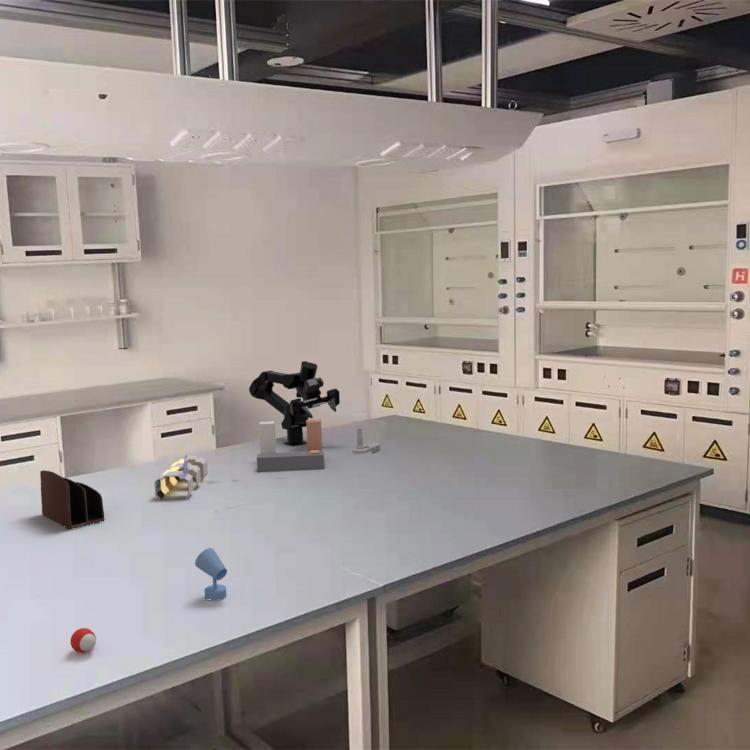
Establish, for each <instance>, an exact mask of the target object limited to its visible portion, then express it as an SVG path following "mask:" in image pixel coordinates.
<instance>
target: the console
mask: <svg viewBox="0 0 750 750" xmlns="http://www.w3.org/2000/svg"><path fill="white" fill-rule="evenodd" d="M256 456H257V457H256V467H257V469H256V470H257V473H266V472H267V473H269V472H287V471H289V472H290V471H305V470H307V471H309V470H310V471H311V470H323V469H324V470H325V452H324V450H322V451H319V450H313V451H308V450H307V451H290V452H288V451H287V452H276V453H265V454H261V453H258V454H257V455H256Z"/></svg>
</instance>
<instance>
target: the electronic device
mask: <svg viewBox="0 0 750 750" xmlns="http://www.w3.org/2000/svg"><path fill="white" fill-rule="evenodd" d="M356 430H357V431H356V436H357V438H356V444H357V445H356V446H355V447H354V448H353V449H352V453H353V454H355V455H361V454H362V455H363V454H368V453H369V452H370V451H371V454H373V453H375V452H378V451H380V449H381V448H380V447H381V446H380V445H381V444H380V443H379V442H367V443H365V444H364V443H363V442H364V438H363V429H362V428H357V429H356Z"/></svg>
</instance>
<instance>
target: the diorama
mask: <svg viewBox="0 0 750 750" xmlns="http://www.w3.org/2000/svg"><path fill="white" fill-rule="evenodd" d="M208 473H209V472H208V460H207V459H206V458H204V457H200V456H199V455H197V454H195V455H192V454H191V455H187V454H184V455H183V456H182V458H179V457H178V458H177V460H176V461H174V463H172V465H170V466H169V467H168V468H167V469H166V470H165V471H164V472H163V473H162V474H161V475H160V476H159V477H157V479H156V480H155V481H154V494H155V496H156V497H157V499H158V500H159V501H161V500H162V499H163V498H164V497H165V496H166V495H167V494H168V493H169V491H171V490H172V489H173V487H175V485H176V484H177V483H178V482H179V481H180V480H185V481H187V492H188V493H187V494H186V496H185V497H184V499H185V500H187V499H189V497H190V496H191V494H192V493H193V491H195V490H196V489H197V488H198V486H199V484H200V483H201V482H203V480H204V479H205V477H206V476H207V474H208ZM194 479H195V485H194ZM167 492H168V493H167ZM166 493H167V494H166ZM165 494H166V495H165Z"/></svg>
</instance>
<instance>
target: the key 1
mask: <svg viewBox="0 0 750 750" xmlns="http://www.w3.org/2000/svg"><path fill="white" fill-rule="evenodd" d="M275 423H276V422H275V421H273V420H272V421H260V422H259V423H258V428H259V441H260V442H259V446H260V448H259V449H260V450H259V451H260V454H265V453H277V442H276V424H275Z"/></svg>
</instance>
